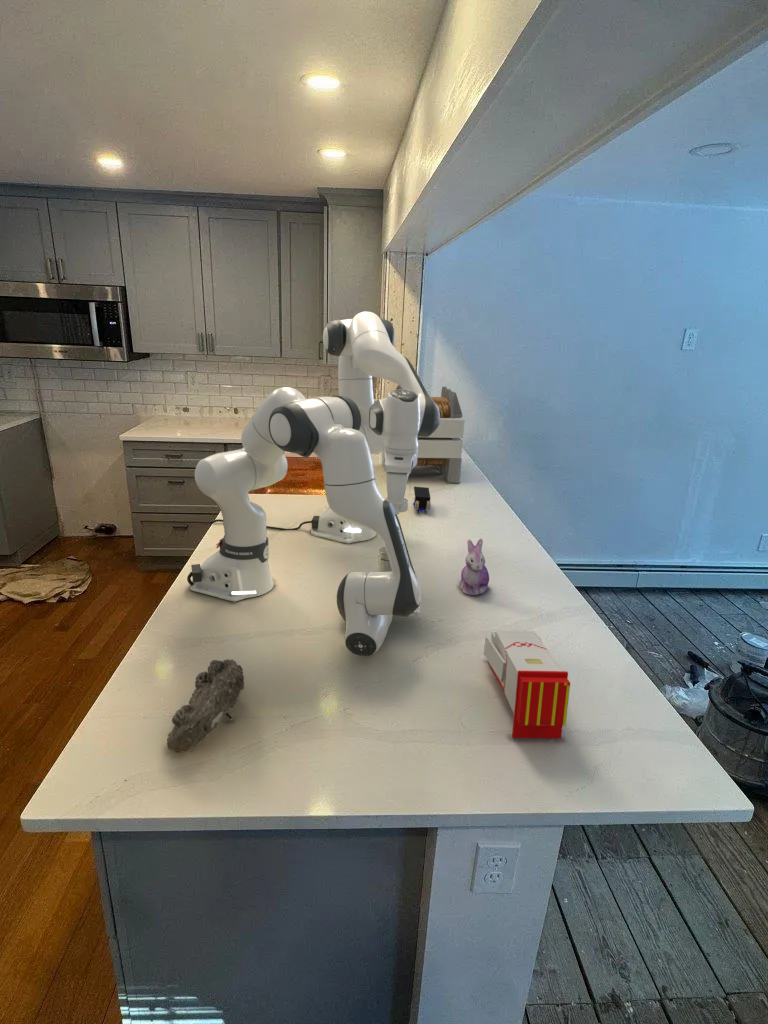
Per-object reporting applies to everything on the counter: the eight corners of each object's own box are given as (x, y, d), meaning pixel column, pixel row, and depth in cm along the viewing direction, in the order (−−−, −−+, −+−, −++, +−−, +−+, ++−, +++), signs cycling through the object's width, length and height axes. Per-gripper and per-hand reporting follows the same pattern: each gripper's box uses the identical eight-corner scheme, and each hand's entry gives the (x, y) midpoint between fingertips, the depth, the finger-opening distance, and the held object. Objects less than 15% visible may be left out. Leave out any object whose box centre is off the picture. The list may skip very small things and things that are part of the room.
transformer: (382, 463, 289) (386, 382, 275) (445, 464, 293) (451, 384, 279) (390, 482, 257) (394, 392, 243) (460, 483, 261) (468, 394, 247)
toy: (532, 614, 131) (579, 678, 101) (527, 667, 134) (572, 745, 104) (479, 613, 130) (512, 677, 101) (476, 667, 133) (506, 744, 104)
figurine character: (431, 519, 219) (427, 502, 232) (432, 501, 216) (429, 485, 229) (413, 518, 219) (411, 501, 232) (415, 500, 215) (412, 484, 229)
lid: (398, 503, 151) (398, 495, 150) (412, 510, 146) (412, 501, 145) (380, 507, 147) (380, 498, 146) (394, 514, 143) (394, 505, 142)
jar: (392, 599, 155) (395, 545, 149) (396, 609, 150) (400, 553, 144) (374, 601, 153) (376, 546, 148) (378, 610, 149) (381, 554, 143)
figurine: (471, 599, 156) (476, 549, 151) (450, 583, 165) (454, 536, 160) (498, 593, 160) (504, 544, 155) (476, 578, 169) (481, 531, 164)
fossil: (192, 660, 117) (244, 628, 112) (224, 691, 120) (276, 661, 115) (142, 746, 98) (202, 712, 93) (182, 779, 101) (242, 748, 96)
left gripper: (419, 604, 135) (426, 579, 148) (336, 593, 139) (350, 569, 151) (417, 627, 137) (424, 601, 150) (335, 616, 141) (350, 590, 153)
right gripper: (390, 445, 152) (387, 494, 157) (383, 467, 133) (381, 521, 137) (413, 447, 151) (410, 496, 156) (410, 468, 132) (406, 523, 137)
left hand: (387, 585), depth 151 cm, fingers closed on jar, 5 cm apart
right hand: (396, 508), depth 147 cm, fingers closed on lid, 6 cm apart
